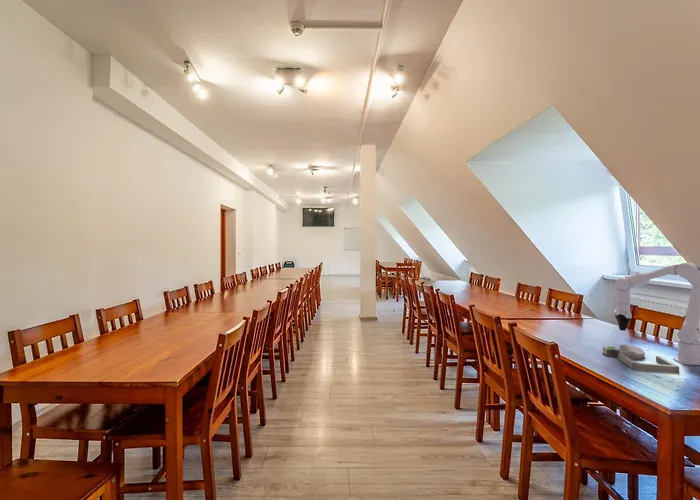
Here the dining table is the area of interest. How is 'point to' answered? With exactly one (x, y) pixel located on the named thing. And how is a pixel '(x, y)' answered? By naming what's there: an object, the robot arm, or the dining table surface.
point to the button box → (610, 351)
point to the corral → (664, 367)
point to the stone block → (631, 352)
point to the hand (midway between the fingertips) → (622, 330)
